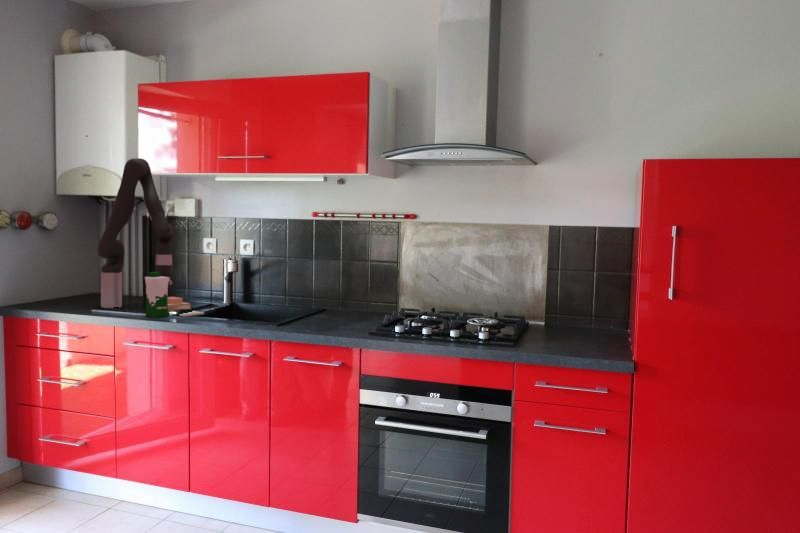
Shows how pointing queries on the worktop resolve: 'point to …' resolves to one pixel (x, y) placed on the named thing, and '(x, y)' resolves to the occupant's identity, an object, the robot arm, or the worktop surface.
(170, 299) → the tile
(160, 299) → the milk carton
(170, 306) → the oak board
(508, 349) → the worktop surface
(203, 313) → the mat
